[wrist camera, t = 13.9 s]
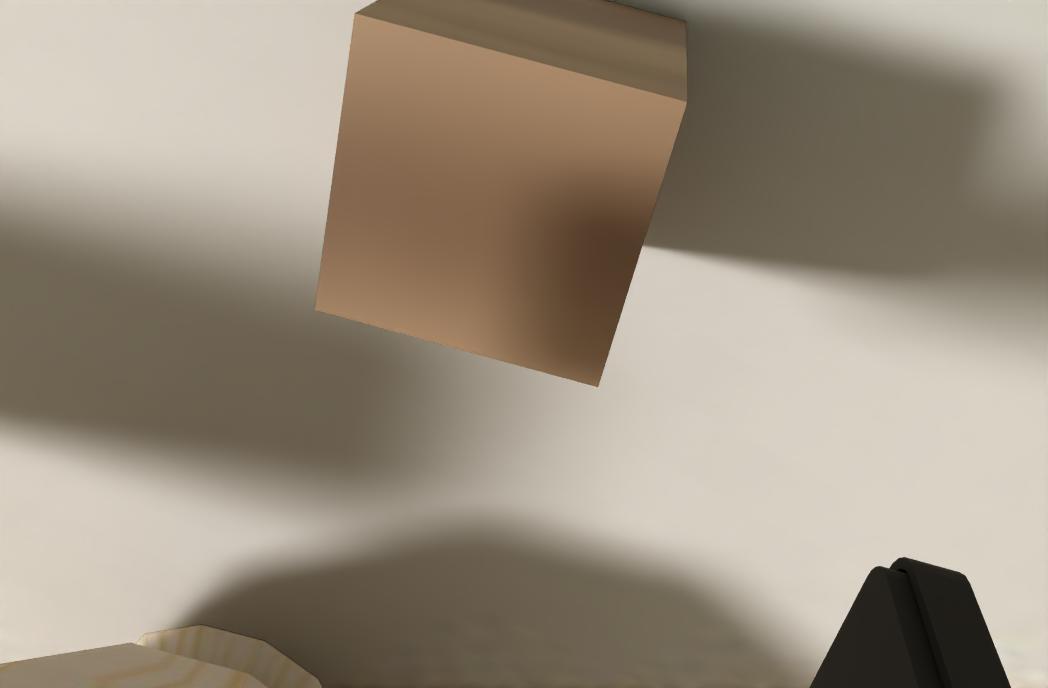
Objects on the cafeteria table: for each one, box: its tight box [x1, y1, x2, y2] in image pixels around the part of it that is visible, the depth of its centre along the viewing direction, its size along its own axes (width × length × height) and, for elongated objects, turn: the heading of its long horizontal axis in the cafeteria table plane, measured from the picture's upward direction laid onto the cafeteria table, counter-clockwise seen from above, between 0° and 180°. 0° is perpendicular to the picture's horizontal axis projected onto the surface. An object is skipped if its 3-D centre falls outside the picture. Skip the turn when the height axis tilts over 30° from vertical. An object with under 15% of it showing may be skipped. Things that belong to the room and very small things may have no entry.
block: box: [315, 0, 687, 387], centre depth 16 cm, size 4×4×6 cm
